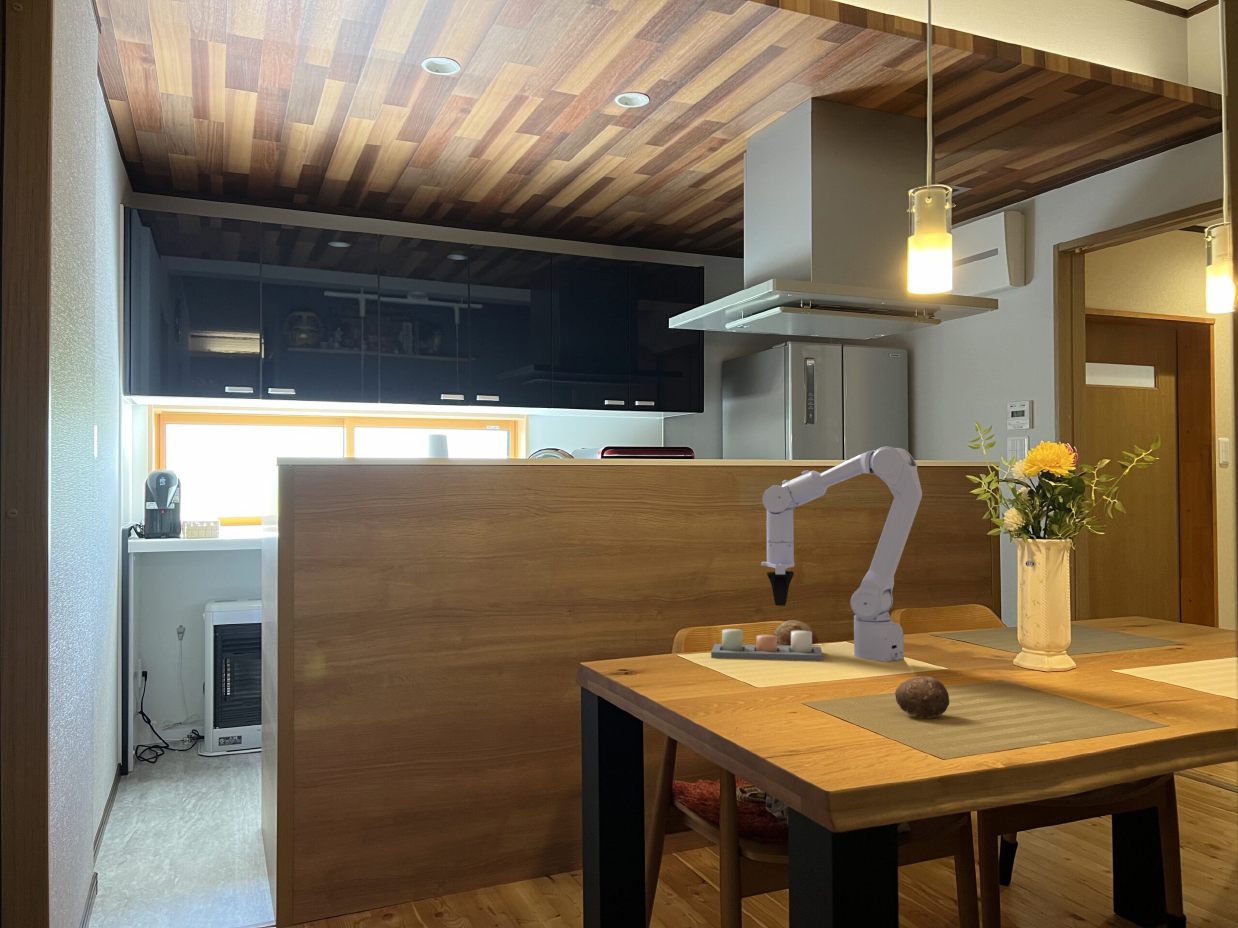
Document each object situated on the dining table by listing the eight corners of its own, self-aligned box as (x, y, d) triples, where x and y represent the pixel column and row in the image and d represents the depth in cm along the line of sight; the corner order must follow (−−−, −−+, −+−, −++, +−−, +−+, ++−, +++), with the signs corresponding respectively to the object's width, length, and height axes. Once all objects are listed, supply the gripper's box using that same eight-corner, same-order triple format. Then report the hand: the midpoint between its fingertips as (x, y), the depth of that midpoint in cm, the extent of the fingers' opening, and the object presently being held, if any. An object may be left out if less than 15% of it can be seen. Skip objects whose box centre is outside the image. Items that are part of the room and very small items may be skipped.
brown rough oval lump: (910, 684, 155) (914, 658, 151) (955, 709, 150) (960, 683, 146) (884, 714, 150) (887, 688, 147) (929, 741, 145) (934, 715, 142)
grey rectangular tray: (820, 658, 195) (820, 646, 196) (822, 667, 186) (822, 655, 186) (714, 655, 199) (714, 643, 199) (711, 664, 189) (711, 652, 189)
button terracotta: (777, 658, 194) (777, 634, 194) (777, 661, 190) (777, 638, 190) (756, 657, 195) (756, 634, 195) (756, 661, 191) (756, 637, 191)
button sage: (743, 652, 195) (742, 629, 195) (742, 655, 191) (742, 632, 191) (722, 651, 196) (722, 628, 196) (721, 655, 192) (721, 631, 192)
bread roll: (770, 661, 212) (757, 630, 211) (804, 639, 216) (791, 608, 215) (796, 669, 203) (783, 636, 202) (831, 645, 207) (818, 613, 206)
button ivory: (811, 654, 193) (811, 630, 193) (812, 657, 189) (812, 633, 189) (790, 653, 194) (790, 630, 194) (791, 657, 190) (791, 633, 190)
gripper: (761, 539, 209) (762, 600, 209) (760, 543, 195) (760, 609, 195) (794, 539, 208) (794, 601, 208) (795, 544, 194) (795, 609, 194)
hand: (780, 605), depth 201 cm, fingers closed
